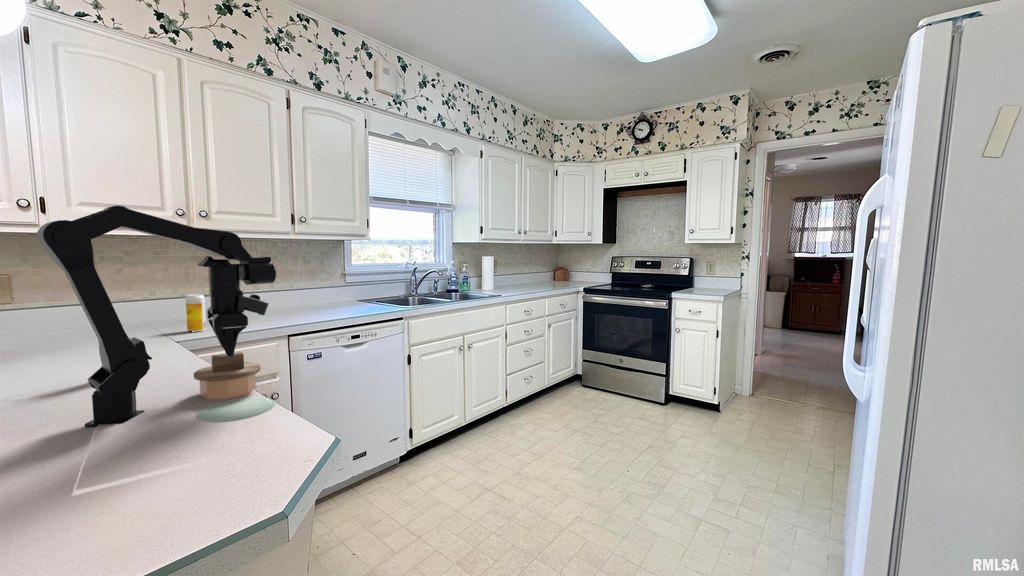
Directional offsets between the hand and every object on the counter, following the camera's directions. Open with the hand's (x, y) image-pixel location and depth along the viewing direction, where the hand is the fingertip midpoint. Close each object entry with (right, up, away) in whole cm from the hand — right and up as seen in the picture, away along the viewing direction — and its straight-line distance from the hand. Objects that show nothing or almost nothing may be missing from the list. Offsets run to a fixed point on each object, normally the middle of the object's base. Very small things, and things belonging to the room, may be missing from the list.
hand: (227, 352), depth 98 cm
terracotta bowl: (0, -10, +1) cm, 10 cm away
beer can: (-63, -3, +73) cm, 97 cm away
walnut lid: (0, -5, 0) cm, 5 cm away
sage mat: (+9, -11, -10) cm, 17 cm away
